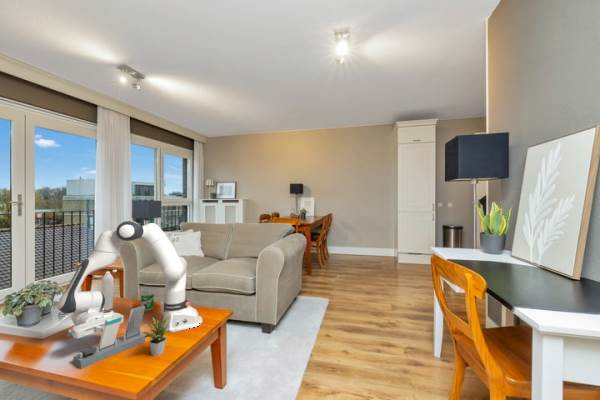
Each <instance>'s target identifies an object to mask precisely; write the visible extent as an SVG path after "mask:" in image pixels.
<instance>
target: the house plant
mask: <svg viewBox="0 0 600 400" xmlns="http://www.w3.org/2000/svg"><path fill="white" fill-rule="evenodd" d="M168 317H169V316H168ZM168 317H167V318H166V319H164V320H163V319H162V321H161V319H159V320H158V319H156V318H154V317H152V320H153V322H151V324H152V325H153V326H152V325H150V324H147V323H142V325H144V326H147V327H149V330H150V331H149V332H148V331H141V332H139V333H141V334H143V335H145V336H144V338H145V339H146V338H151V339H150V340H149V346H150V353H151V356H152V357H158V356H161V355H163V354H164V351H165V346H166V342H167V337H166V336H164V335H165V334H167V333H169V332H170V333H172V332H171V331H167V330H165V329H167V327H165V325H166V324H167V322H168V320H169V319H168ZM167 319H168V320H167ZM166 320H167V322H166ZM163 321H164V322H163ZM165 322H166V324H165ZM169 322H170V321H169ZM162 323H163V324H162ZM164 324H165V325H164ZM167 325H168V324H167ZM167 325H166V326H167ZM161 326H162V328H161ZM164 327H165V328H164ZM144 338H143V339H144Z"/></svg>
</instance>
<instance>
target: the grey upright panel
mask: <svg viewBox="0 0 600 400" xmlns="http://www.w3.org/2000/svg"><path fill="white" fill-rule="evenodd" d="M144 310H145V306H144V305H143V306H141V305H139V306H137V307H134V308H131V309H130V313H129V318H128V321H127V326H126V329H125V330H126V331H125V334H124V335H125V336H126V339H127V338H129V337H132V336H134V335H137V334H139V330H140V329H141V325H142V323H143V317H144V313H145V311H144Z"/></svg>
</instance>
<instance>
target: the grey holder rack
mask: <svg viewBox="0 0 600 400" xmlns="http://www.w3.org/2000/svg"><path fill="white" fill-rule="evenodd" d="M139 332H142V329H141V328H140V330H139ZM145 335H146V334H144V333H139V334H137V335H134V336H132V337H129V338H127V339H126V336H125V334H123V335H121V337H120V338H119V337H118V338H117V337H116V338H115V342H114V344H112V345H109V346H107V347H104V348H102V349H99V344H97V345H96V344H95V345H94V348H97V351H95V352H92V353H90V354H87V355H84V354H83V353H82V352H80V351H79V352H78V353H77V354H76V355H73V359H72V360H73V362H72V363H73V364H74V365H75V366H76V367H78V368H79V369H81V370H83V369H84V367H85V368H86V367H87V368H88V366H89V367H90V366H91V365H93V364H96V363H98V362H101V361H103V360H105V359H107V358H111V357H113V356H115V355H117V354H119V353H121V352H123V351H126V350H129V349H131V348H133V347H135V346H138V345H140V344H143V343H145V341H146V338H144V336H145ZM143 338H144V339H143Z"/></svg>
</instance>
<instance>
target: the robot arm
mask: <svg viewBox="0 0 600 400" xmlns="http://www.w3.org/2000/svg"><path fill="white" fill-rule="evenodd" d="M137 239H141V240H142V241H143V242H144V243H145V245H146V246H147V247H148V249H149V250H150V252H151V253H152V255H153V257H154V258H155V260H156V261H157V264H158V266H159V268H160V270H161V271H162V274H163V277H164V278H165V287H164V301H163V316H162V317H163V318H162V321H163V320H164V319H166V318H167V317H168V316H169V317H168V319H169V320H168V319H167V320H168V322H167V320H166V322H167V324H168V325H167V324H166V322H165V324H166V325H167V326H166V325H165V324H164V325H165V327H167V329H165V330H167V331H166V332H168V331H171V332H170V333H176V332H180V331H185V330H190V329H194V328H193V327H195V328H198V327H197V326H199V325H200V324H201V323H202V324H203V317H202V316H201V315H199V312H198V310H197V309H196V308H195V307H192V306H191V305H190V301H189V299H188V298H186V285H187V274H188V273H187V271H188V262H187V261H186V260H187V259H185V258H184V257H182V256H179V255H178V253H177V251H176V249H175V247H174V245H173V243H172V241H170V239H169V238H168V236H167V235H166V233H165V232H164V231H163V230H162V228H161V227H160V226H159V225H158V224H157V223H154V222H149V223H146V224H144V225H141V224H140V223H138V222H136V221H133V220H126V221H125V220H124V221H123V222H121V223H120V224H119V225H118V226H117V227H116V230H111V229H110V230H109V229H108V230H103V231H102V232H101V233H100V234H99V236H98V238H97V240H96V242H95V244H94V248H93V250H92V252H91V254H90V255H89V257H87V258H86V259H83V260H82V262H81V263H80V264H79V265H78V267H77V269H75V270H76V271H75V272H74V274H73V276H72V278H71V280H70V282H69V284H68V286H67V287H66V289H65V291H64V292H63V293H62V295H61V297H60V298H59V300H58V303H57V309H58V310H59V311H60V312H61V313H62V314H65V315H67V314H71V322H72V323H73V324H74V326H73V327H72V328H70V329H69V330H68V333H69V334H72V337H73V338H74V339H81V338H84V337H86V336H90V335H92V334H95V333H102V332H103V328H104V325H105V321H106V319H109V318H112V317H115V316H118V315H121V316H122V319H121V322H120V325H121V324H123V323H124V318H125V317H124V315H123V314H121V313H119V312H114V310H105V311H103V310H102V309H103V306H104V304H105V297H104V295H103V293H102V292H101V291H102V290H89V291H88V290H87V291H79V290H80V289H81V287H82V285H83V283H84V282H85V279H86V278H87V276H88V275H89V274H91V273H93V272H95V271H99V270H102V269H105V268H108V267H110V266H111V265H112V264H114V263H115V261H116V259H117V257H118V254H119V250H120V246H122V243H123V242H132V241H135V240H137ZM169 321H170V322H169ZM163 322H164V321H163ZM161 323H162V322H161ZM199 323H200V324H199ZM162 324H163V323H162ZM202 324H201V325H202ZM201 325H200V326H201ZM160 326H161V325H160ZM200 326H199V327H200ZM165 327H164V328H165ZM161 328H162V326H161ZM189 328H190V329H189Z"/></svg>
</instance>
